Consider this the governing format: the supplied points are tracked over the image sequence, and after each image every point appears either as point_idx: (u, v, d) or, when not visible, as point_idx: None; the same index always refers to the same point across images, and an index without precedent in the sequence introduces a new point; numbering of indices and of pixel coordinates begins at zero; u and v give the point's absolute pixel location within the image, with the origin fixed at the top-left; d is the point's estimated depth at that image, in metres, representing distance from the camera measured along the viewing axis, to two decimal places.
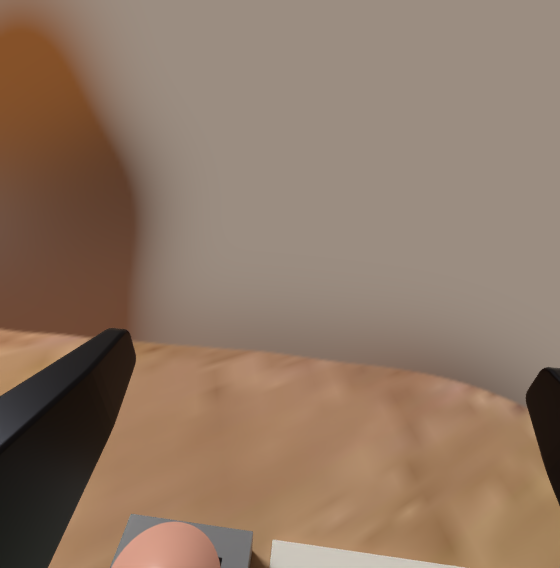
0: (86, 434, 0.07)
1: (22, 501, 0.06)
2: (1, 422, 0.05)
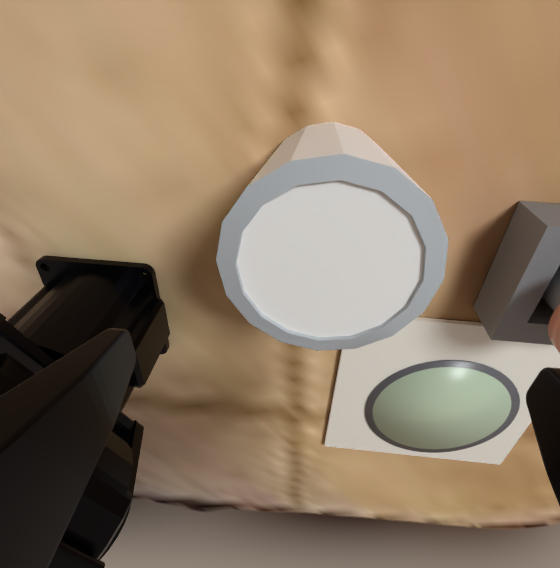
0: (86, 434, 0.07)
1: (22, 501, 0.06)
2: (1, 422, 0.05)
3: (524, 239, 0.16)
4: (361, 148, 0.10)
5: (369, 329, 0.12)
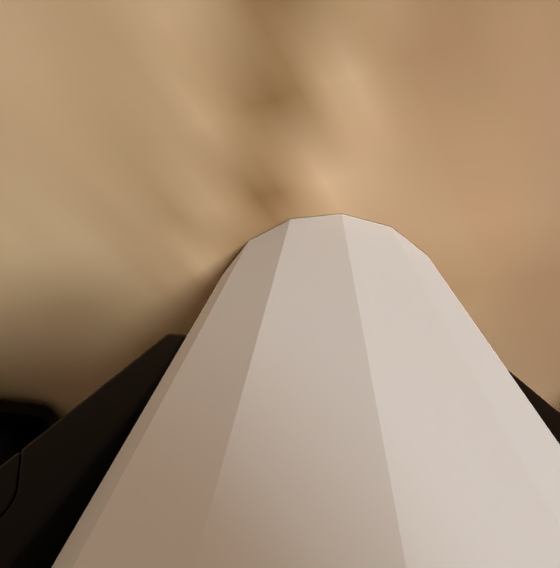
0: None
1: None
2: (88, 431, 0.05)
3: None
4: (446, 429, 0.03)
5: None
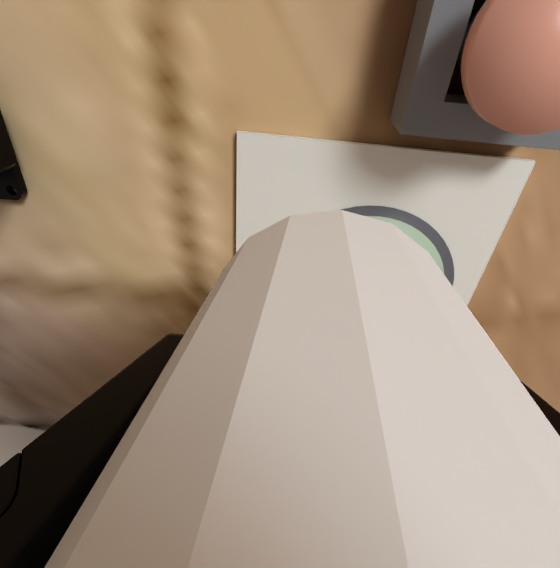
0: None
1: None
2: (88, 431, 0.05)
3: None
4: (448, 423, 0.03)
5: None
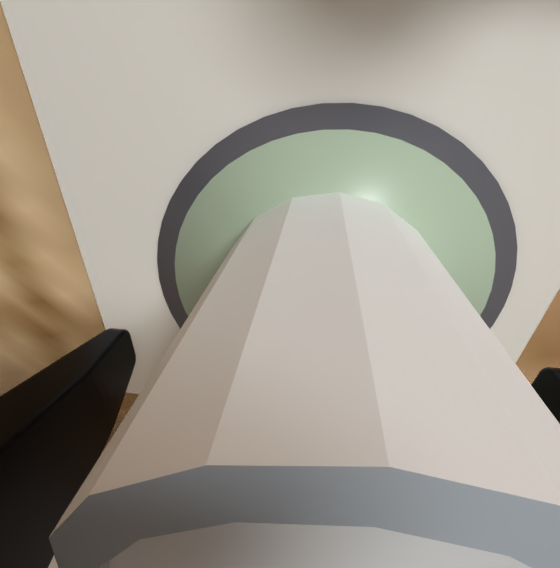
0: (86, 434, 0.07)
1: (22, 501, 0.06)
2: (1, 422, 0.05)
3: None
4: (419, 340, 0.04)
5: None
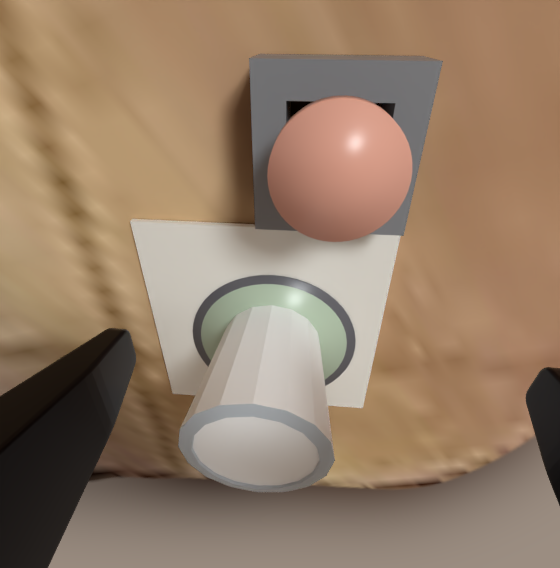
0: (86, 434, 0.07)
1: (22, 501, 0.06)
2: (1, 422, 0.05)
3: None
4: (273, 376, 0.15)
5: (291, 483, 0.17)
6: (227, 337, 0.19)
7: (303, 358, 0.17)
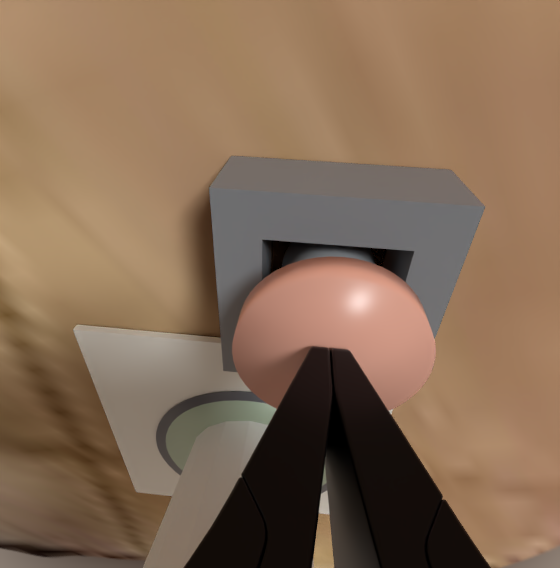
0: None
1: None
2: (298, 453, 0.05)
3: None
4: None
5: None
6: (192, 468, 0.15)
7: None
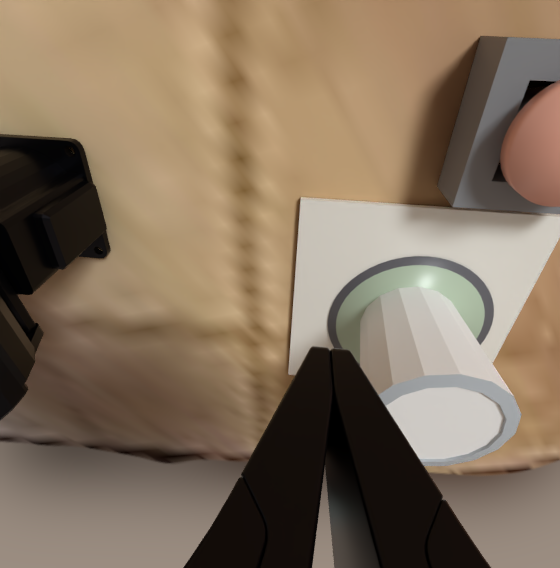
0: None
1: None
2: (298, 453, 0.05)
3: (485, 75, 0.14)
4: (461, 350, 0.16)
5: (458, 456, 0.18)
6: (383, 316, 0.19)
7: (471, 336, 0.18)
